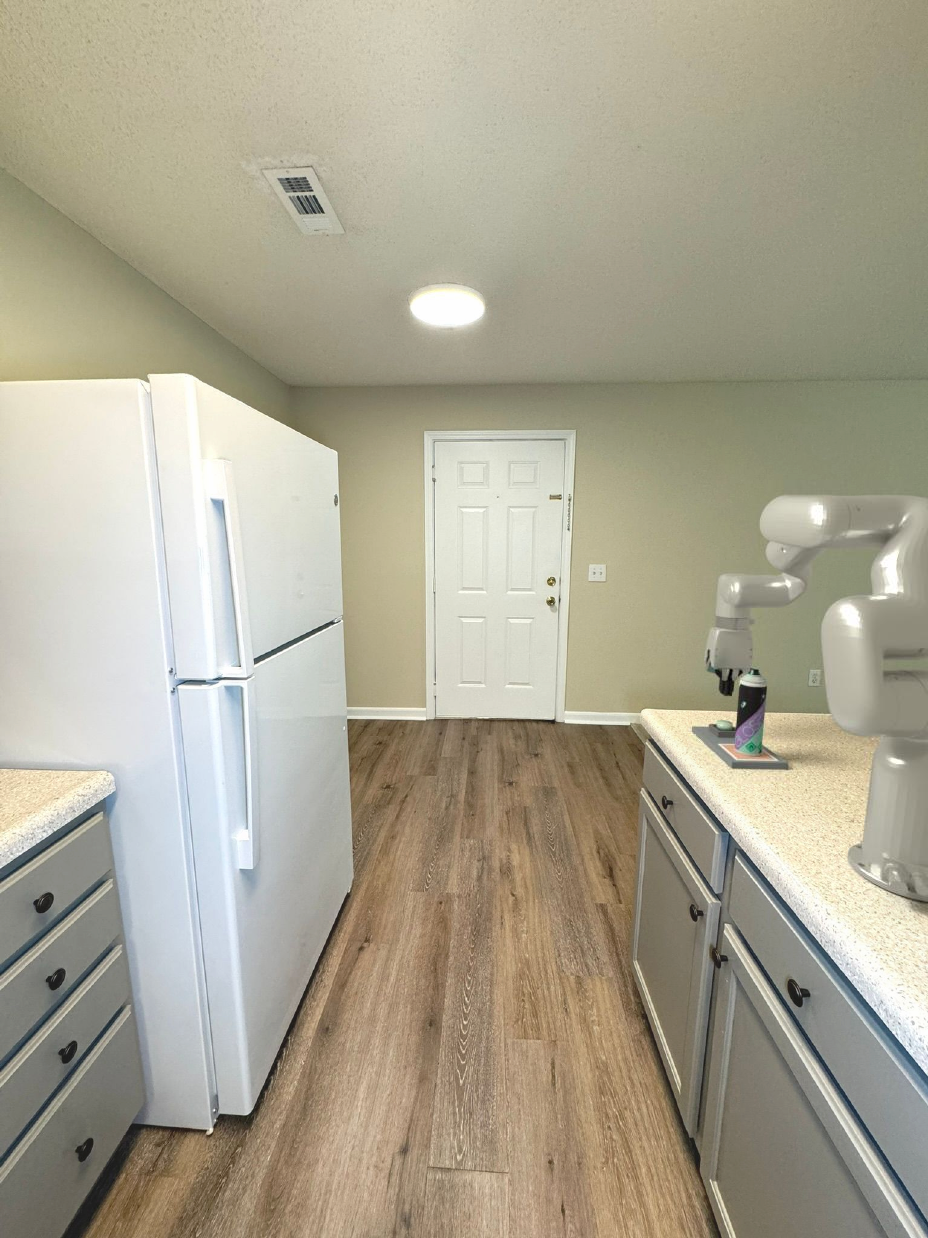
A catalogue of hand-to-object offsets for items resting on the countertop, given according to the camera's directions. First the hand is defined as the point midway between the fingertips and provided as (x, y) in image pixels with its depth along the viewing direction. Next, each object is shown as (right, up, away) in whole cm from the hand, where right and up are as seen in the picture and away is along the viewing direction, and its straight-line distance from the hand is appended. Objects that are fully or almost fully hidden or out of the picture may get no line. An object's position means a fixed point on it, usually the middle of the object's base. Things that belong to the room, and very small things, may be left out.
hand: (725, 694), depth 125 cm
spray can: (-1, -12, -10) cm, 16 cm away
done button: (0, -9, +1) cm, 9 cm away
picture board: (0, -13, -5) cm, 13 cm away
